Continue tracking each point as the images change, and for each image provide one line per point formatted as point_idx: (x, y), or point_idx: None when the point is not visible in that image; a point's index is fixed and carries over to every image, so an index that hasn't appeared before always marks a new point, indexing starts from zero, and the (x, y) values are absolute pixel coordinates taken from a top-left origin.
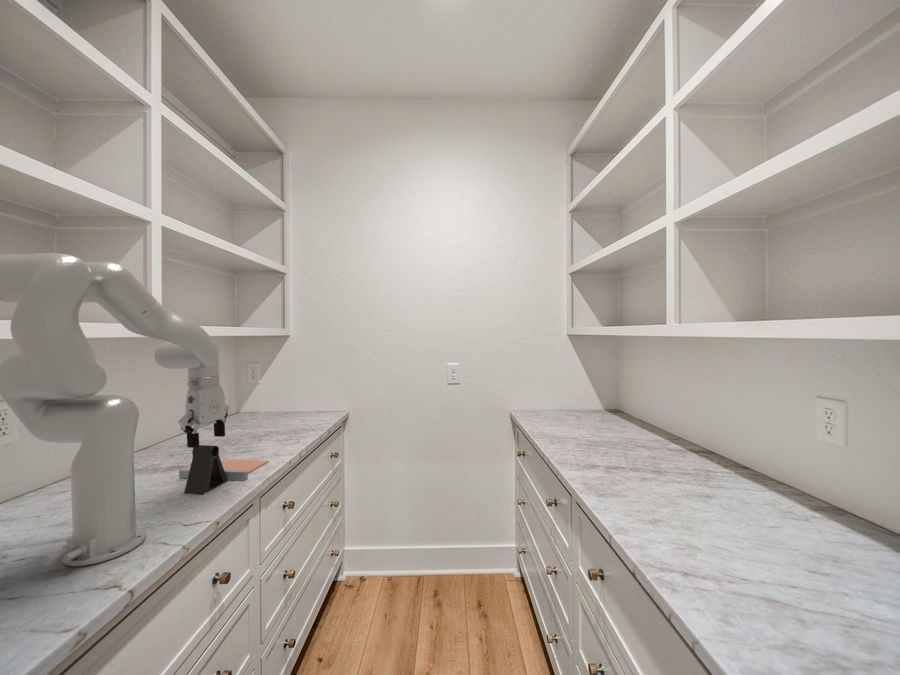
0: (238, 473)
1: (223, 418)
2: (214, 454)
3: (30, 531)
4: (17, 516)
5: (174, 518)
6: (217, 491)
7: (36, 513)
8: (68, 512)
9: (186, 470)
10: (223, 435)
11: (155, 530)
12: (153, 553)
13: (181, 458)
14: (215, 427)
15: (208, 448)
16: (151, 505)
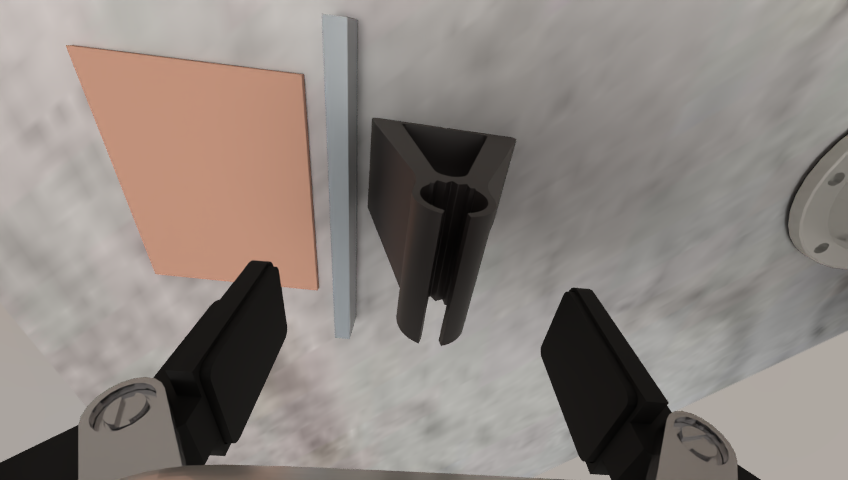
0: (348, 67)
1: (114, 457)
2: (432, 200)
3: None
4: (560, 456)
5: (741, 104)
6: (486, 93)
7: (554, 442)
8: None
9: (347, 317)
10: (268, 267)
11: (832, 107)
12: None
13: None
14: (251, 395)
15: (478, 244)
16: (576, 261)
